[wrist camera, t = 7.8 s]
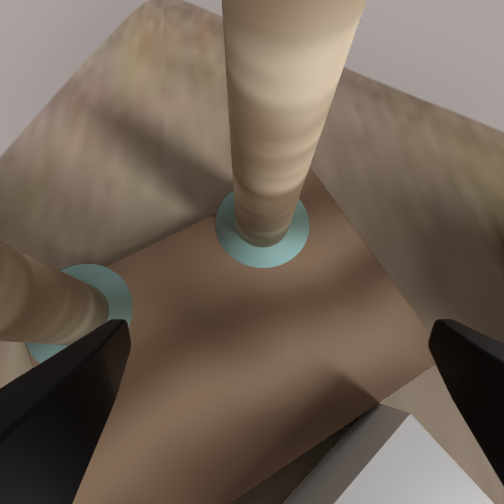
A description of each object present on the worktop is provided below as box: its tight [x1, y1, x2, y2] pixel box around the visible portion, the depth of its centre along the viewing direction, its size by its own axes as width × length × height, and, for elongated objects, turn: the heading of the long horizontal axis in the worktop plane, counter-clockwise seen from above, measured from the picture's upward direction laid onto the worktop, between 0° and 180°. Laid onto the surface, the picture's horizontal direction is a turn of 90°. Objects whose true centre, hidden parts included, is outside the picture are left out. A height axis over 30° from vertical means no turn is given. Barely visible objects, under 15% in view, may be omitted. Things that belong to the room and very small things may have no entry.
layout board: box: [25, 169, 436, 504], centre depth 18 cm, size 15×20×1 cm
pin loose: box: [222, 0, 366, 248], centre depth 13 cm, size 3×3×13 cm
